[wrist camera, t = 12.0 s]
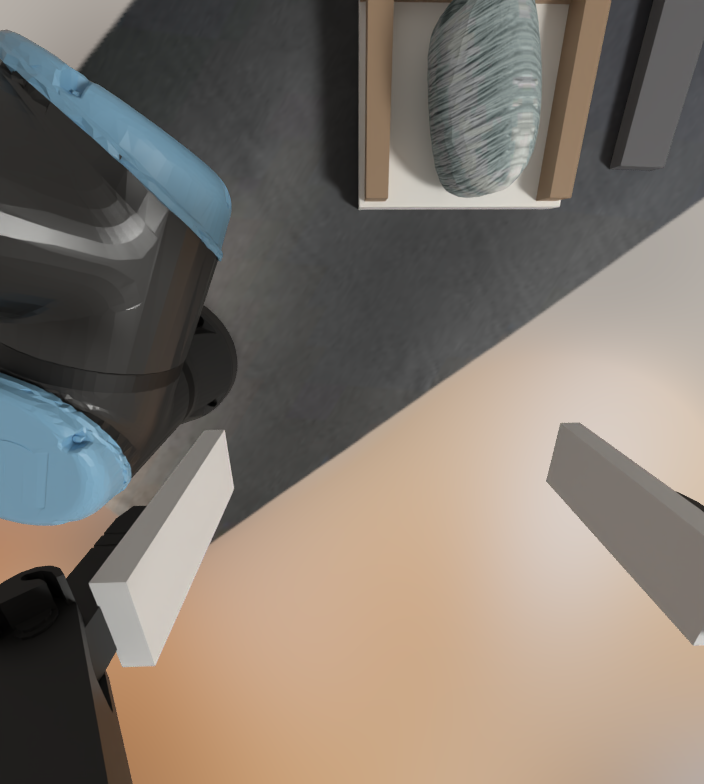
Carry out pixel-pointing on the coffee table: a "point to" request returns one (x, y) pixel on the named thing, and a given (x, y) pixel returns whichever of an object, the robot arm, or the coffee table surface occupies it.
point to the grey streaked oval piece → (484, 93)
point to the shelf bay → (411, 114)
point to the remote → (659, 84)
